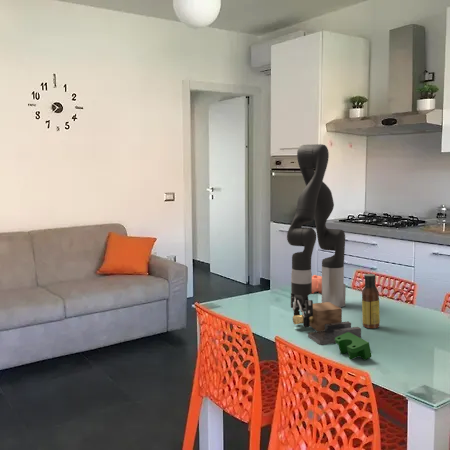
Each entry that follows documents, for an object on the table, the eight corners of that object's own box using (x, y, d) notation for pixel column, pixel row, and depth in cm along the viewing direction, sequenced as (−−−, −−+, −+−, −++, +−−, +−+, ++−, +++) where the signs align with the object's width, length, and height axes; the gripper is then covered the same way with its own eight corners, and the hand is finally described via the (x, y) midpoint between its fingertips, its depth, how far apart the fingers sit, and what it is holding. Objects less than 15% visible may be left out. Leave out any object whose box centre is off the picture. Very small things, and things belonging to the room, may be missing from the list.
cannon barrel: (330, 317, 199) (331, 310, 198) (334, 321, 196) (335, 313, 195) (292, 321, 195) (292, 314, 194) (295, 325, 192) (296, 318, 191)
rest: (347, 331, 189) (348, 321, 189) (361, 339, 181) (361, 328, 180) (307, 336, 185) (307, 325, 184) (319, 345, 176) (319, 333, 176)
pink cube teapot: (317, 288, 256) (317, 271, 255) (327, 294, 245) (327, 276, 244) (302, 289, 255) (302, 272, 254) (311, 295, 243) (311, 278, 242)
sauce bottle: (380, 325, 197) (380, 273, 194) (379, 330, 191) (380, 276, 189) (362, 323, 199) (362, 272, 197) (360, 328, 193) (361, 275, 191)
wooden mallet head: (328, 320, 203) (328, 301, 202) (341, 328, 194) (341, 308, 193) (305, 323, 200) (305, 304, 199) (317, 331, 191) (317, 311, 190)
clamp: (342, 365, 170) (330, 338, 171) (357, 358, 172) (345, 332, 173) (359, 364, 159) (347, 335, 160) (375, 356, 160) (363, 328, 162)
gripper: (319, 284, 186) (319, 328, 188) (302, 276, 200) (302, 317, 202) (300, 285, 184) (300, 330, 186) (284, 277, 198) (284, 319, 200)
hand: (301, 323), depth 194 cm, fingers open, 8 cm apart
